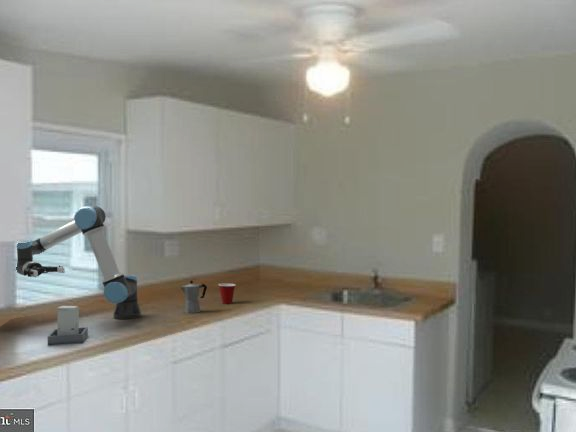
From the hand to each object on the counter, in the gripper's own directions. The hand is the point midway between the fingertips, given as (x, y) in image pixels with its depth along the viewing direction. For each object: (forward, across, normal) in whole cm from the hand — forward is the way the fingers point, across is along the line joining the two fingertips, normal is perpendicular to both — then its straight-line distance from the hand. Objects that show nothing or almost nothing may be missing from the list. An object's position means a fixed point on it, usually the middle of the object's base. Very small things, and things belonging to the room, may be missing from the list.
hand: (50, 272), depth 289 cm
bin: (+25, +4, -30) cm, 39 cm away
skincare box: (+25, +4, -29) cm, 38 cm away
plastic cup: (+13, -103, -30) cm, 108 cm away
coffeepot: (+17, -75, -30) cm, 82 cm away
